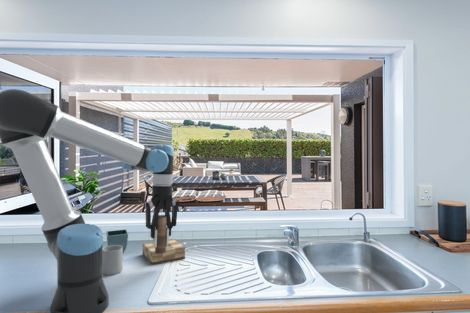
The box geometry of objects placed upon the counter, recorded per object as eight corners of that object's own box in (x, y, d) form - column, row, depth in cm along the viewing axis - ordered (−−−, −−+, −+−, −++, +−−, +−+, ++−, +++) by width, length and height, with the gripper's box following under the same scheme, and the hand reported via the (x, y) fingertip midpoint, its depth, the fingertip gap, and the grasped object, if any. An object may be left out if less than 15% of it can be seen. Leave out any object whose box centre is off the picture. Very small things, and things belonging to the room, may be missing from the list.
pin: (167, 252, 119) (168, 216, 119) (156, 254, 117) (158, 217, 117) (163, 250, 122) (164, 214, 122) (153, 251, 120) (154, 215, 120)
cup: (97, 274, 114) (97, 250, 114) (113, 264, 124) (113, 242, 124) (115, 276, 113) (115, 251, 113) (129, 266, 123) (129, 243, 122)
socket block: (184, 258, 131) (184, 247, 131) (152, 264, 124) (152, 252, 124) (173, 249, 143) (173, 238, 143) (142, 254, 136) (142, 243, 136)
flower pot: (106, 250, 141) (106, 231, 141) (126, 248, 145) (126, 229, 144) (106, 256, 133) (106, 236, 133) (128, 254, 137) (128, 233, 136)
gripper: (179, 183, 127) (177, 240, 127) (137, 184, 118) (135, 245, 118) (186, 185, 121) (184, 245, 121) (143, 186, 112) (140, 251, 112)
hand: (160, 245), depth 119 cm, fingers closed on pin, 4 cm apart
